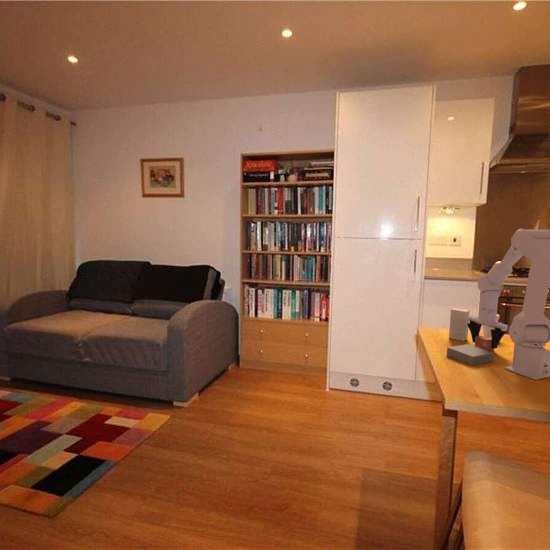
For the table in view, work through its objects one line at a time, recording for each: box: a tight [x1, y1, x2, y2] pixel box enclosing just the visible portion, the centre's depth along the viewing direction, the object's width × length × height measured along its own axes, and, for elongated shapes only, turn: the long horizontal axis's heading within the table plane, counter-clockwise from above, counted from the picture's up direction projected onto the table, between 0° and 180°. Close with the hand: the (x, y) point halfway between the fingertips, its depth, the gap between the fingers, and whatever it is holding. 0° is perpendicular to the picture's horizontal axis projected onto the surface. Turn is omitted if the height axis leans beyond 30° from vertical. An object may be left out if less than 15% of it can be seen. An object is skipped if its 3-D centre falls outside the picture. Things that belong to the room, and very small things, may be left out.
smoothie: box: [482, 313, 501, 338], centre depth 151 cm, size 6×6×14 cm
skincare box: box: [448, 307, 470, 342], centre depth 149 cm, size 6×4×12 cm
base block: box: [446, 343, 495, 366], centre depth 126 cm, size 10×10×3 cm
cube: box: [474, 335, 495, 352], centre depth 136 cm, size 4×4×4 cm
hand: (484, 345), depth 137 cm, fingers open, 7 cm apart
